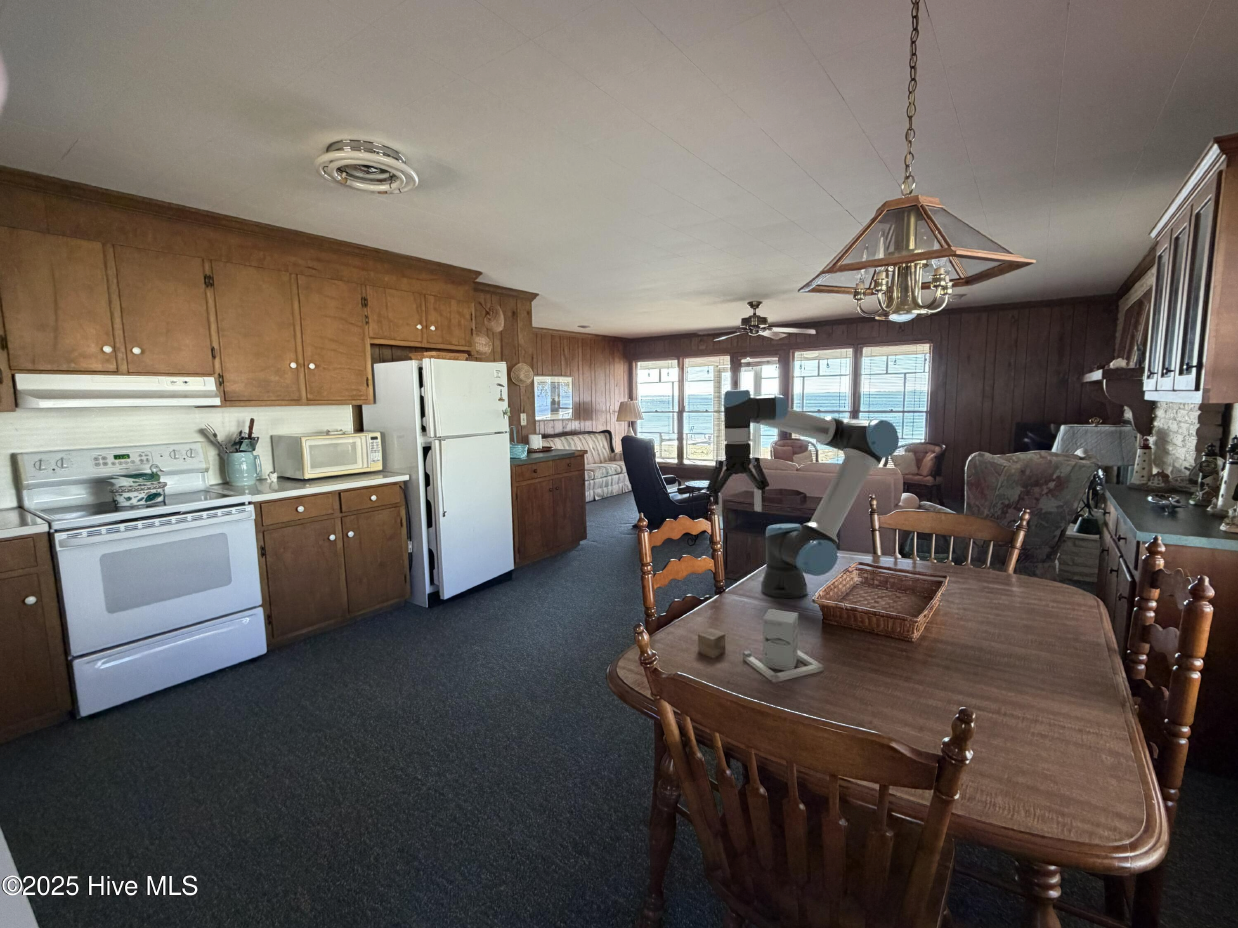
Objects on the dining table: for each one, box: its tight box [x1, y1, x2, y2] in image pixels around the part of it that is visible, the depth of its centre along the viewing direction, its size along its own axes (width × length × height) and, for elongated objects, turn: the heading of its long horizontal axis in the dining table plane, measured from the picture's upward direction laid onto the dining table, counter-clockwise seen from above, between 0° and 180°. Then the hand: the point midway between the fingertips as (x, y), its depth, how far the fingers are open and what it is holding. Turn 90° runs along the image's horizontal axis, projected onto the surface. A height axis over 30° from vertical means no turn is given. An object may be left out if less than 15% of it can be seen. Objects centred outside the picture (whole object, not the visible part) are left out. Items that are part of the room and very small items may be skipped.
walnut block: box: [697, 628, 726, 659], centre depth 145 cm, size 5×5×5 cm
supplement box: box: [762, 608, 799, 672], centre depth 136 cm, size 7×7×13 cm
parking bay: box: [742, 650, 824, 684], centre depth 136 cm, size 14×13×2 cm
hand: (738, 513), depth 165 cm, fingers open, 13 cm apart
